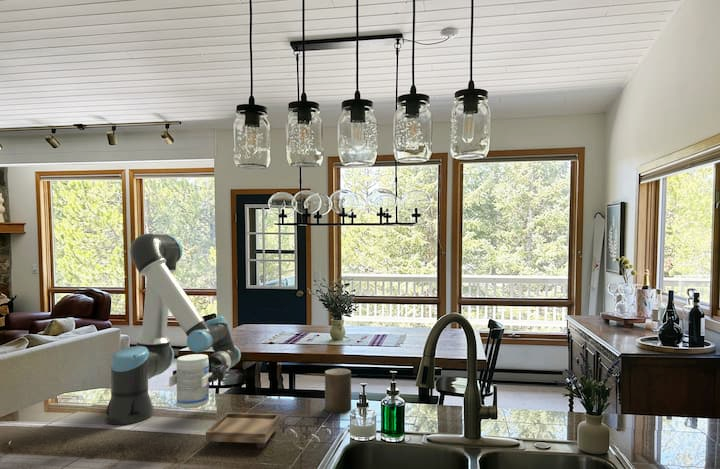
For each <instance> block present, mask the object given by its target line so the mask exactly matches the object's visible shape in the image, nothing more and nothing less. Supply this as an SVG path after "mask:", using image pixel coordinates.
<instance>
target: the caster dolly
mask: <svg viewBox="0 0 720 469" xmlns="http://www.w3.org/2000/svg"><path fill="white" fill-rule="evenodd" d="M280 424H281V414H280V413H279V414H277V413H253V412H251V413H250V412H249V413H248V412H246V413H245V412H226V413H224V415H222V416H221V418H219V419H218V420H217V421H216V422H215V423H214V424H213V425H212V426H211V427H209V428H208V429H207V431H205V442H210V443H209V444H210V446H211V448H217V447H218V446H219V444H220V442H221V443H222V442H223V443H225V442H226V443H251V444H256V446H255V447H256V448H257V449H258V450H263V449H264V448H265V446H266V443H267V441H268V440H269V439H270V437H271V436H272V434H274V433H275V432H276V431H277V427H279V425H280Z"/></svg>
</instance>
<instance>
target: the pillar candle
mask: <svg viewBox="0 0 720 469" xmlns="http://www.w3.org/2000/svg"><path fill="white" fill-rule="evenodd" d="M324 410H325V411H326V412H328V413H332V414H344V413H348V412H350V411H351V410H352V371H351V370H350V369H348V368H331V369H327V370H325V371H324Z"/></svg>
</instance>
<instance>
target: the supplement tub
mask: <svg viewBox="0 0 720 469" xmlns="http://www.w3.org/2000/svg"><path fill="white" fill-rule="evenodd" d="M208 357H209V356H208V354H204V353H200V354H199V353H194V354H186V355H182V356H179V357H177V359H176V370H177V384H176V406H177V407H179V408H181V409H188V410H189V409H196V408H200V407H203V406H205V405H206V404H208V403H209V400H210V396H209V395H210V394H209V393H210V392H209V390H210V389H209V388H210V387H209V386H210V383H209V384H208V385H206V386H205V387H201V378H202V377H204V376H206V375H207V374H209V360H208Z"/></svg>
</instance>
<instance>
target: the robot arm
mask: <svg viewBox="0 0 720 469" xmlns="http://www.w3.org/2000/svg"><path fill="white" fill-rule="evenodd" d="M129 254H130V259H131V261H132V263H133V265H134V266H135V268H136V270H137V271H138V273H139V275H141V276H142V277H143V276H144V277H146V282H145V294H144V295H145V296H144V304H143V305H144V306H143V307H144V308H143V317H142V318H143V319H142V329H141V330H142V331H141V337H140V338H138V339H137V340H136V345H135V346H134V345H133V346H129V347H124V348H122V349H119V350H117V351H115V352H114V353H113V355H112V357H111V363H110V368H111V372H110V374H111V375H110V378H111V379H110V381H111V382H110V383H111V384H110V385H111V386H110V389H111V390H110V395H111V396H110V399H109V402H108V404H107V408H106V411H105V413H104V422H105V423H106V424H111V425H114V426H115V425H116V426H118V425H121V426H122V425H130V424H135V423H138V422H142V421H144V420H147V419H149V418H151V417H152V416H153V415H154V406H153V402H152V399H151V397H150V394H149V380H150V379H152V378H154V377H156V376H159V375H161V374H163V373H164V372H165V371H167V370H168V369H169V368H170V367H171V366H172V364H173V362H174V359H175V353H174V349H173V347H172V345H171V339H170V338H169V337H168V336H167V328H168V318H169V317H168V316H169V312H170V313H171V315H172V316H173V317H174V319H175V320H176V321H177V323H178V324H179V326H180V328H181V329H182V330H183V332H184V333H185V335H186V336H187V338H186V343H187V344H186V346H187V348H188V349H189V350H190V351H192V352H193V353H202V352H205V351H207V350H209V349H211V348H212V351H213V353H212V354H211V355H209V356H208V360H209V374H207V375H206V376H204V377H202V378H201V387H205V386H206V385H208V384H209V385H210V384H211V383H213V382H216V381H217V382H218V380H219V381H224V379H225V377H226V375H227V374H229V371H230V370H229V369H231V368H232V367H235V366H236V365H237V364H238V363H239V362H240V360H241V357H242V354H241V350H240V349H239V348H238V346H235V344H234V341H233V338H232V336H231V332H230V330H229V326H228V325H229V324H228V323H227V320H226V317H225V316H223V315H220V316H217V317H215V318H211V319H209V320H206V321H205V319H204V317H203V316H202V314H201V313H200V312H199V310H198V308H197V307H196V305H194V303H193V302H192V300H191V299H190V298H189V295H188V294H187V293H186V292H185V290H184V289H183V287H182V286H181V285H180V283H179V282H178V280H177V278H176V277H175V276H174V274H173V273H174V272H176V270H177V264H178V262H179V261H180V260H181V258H182V256H183V247H182V244H181V241H180V240H178V239H177V237H174V236H172V235H169V234H157V233H156V234H155V233H143V234H141V235H139V236H137V237H136V238H135V239H133V241H132V243H131V244H130V249H129ZM168 379H169V380H168V387H173V386H175V385H177V369H175V370H172V375H171V376H170V377H168Z"/></svg>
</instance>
